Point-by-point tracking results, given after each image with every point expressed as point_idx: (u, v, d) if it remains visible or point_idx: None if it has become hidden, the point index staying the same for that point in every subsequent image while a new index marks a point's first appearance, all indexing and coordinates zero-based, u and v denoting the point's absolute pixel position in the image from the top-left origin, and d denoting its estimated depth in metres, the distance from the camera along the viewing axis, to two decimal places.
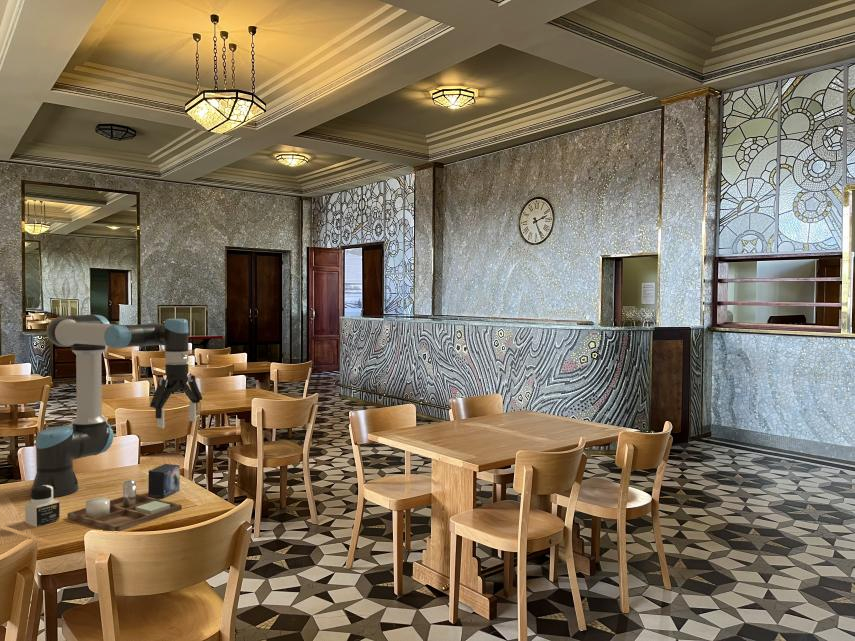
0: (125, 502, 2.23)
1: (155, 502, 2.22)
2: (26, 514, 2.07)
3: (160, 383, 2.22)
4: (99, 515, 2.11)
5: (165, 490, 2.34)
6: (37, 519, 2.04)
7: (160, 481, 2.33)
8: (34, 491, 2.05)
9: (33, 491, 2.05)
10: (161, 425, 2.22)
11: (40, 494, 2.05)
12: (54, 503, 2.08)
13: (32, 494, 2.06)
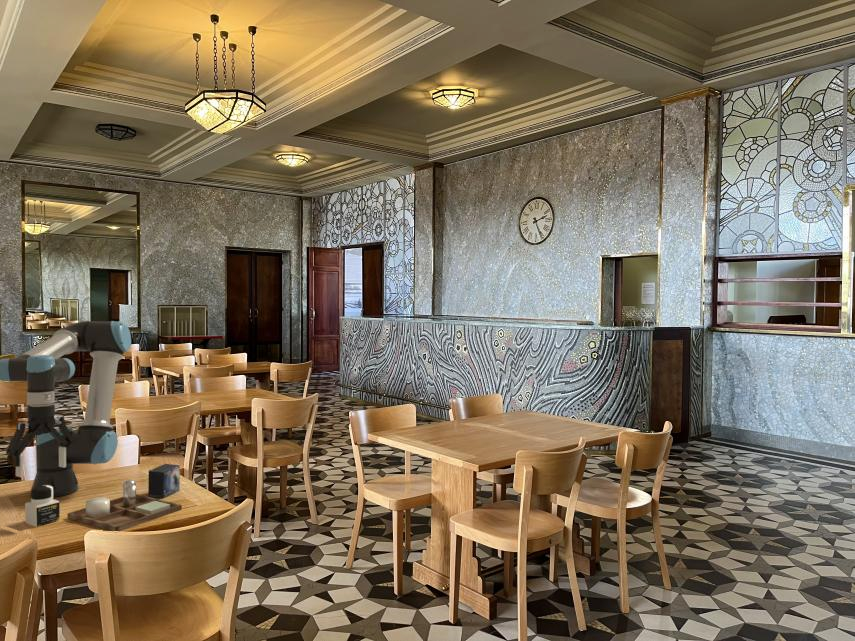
0: (125, 502, 2.23)
1: (155, 502, 2.22)
2: (26, 514, 2.07)
3: (18, 427, 2.01)
4: (99, 515, 2.11)
5: (165, 490, 2.34)
6: (37, 519, 2.04)
7: (160, 481, 2.33)
8: (34, 491, 2.05)
9: (33, 491, 2.05)
10: (19, 474, 2.01)
11: (40, 494, 2.05)
12: (54, 503, 2.08)
13: (32, 494, 2.06)
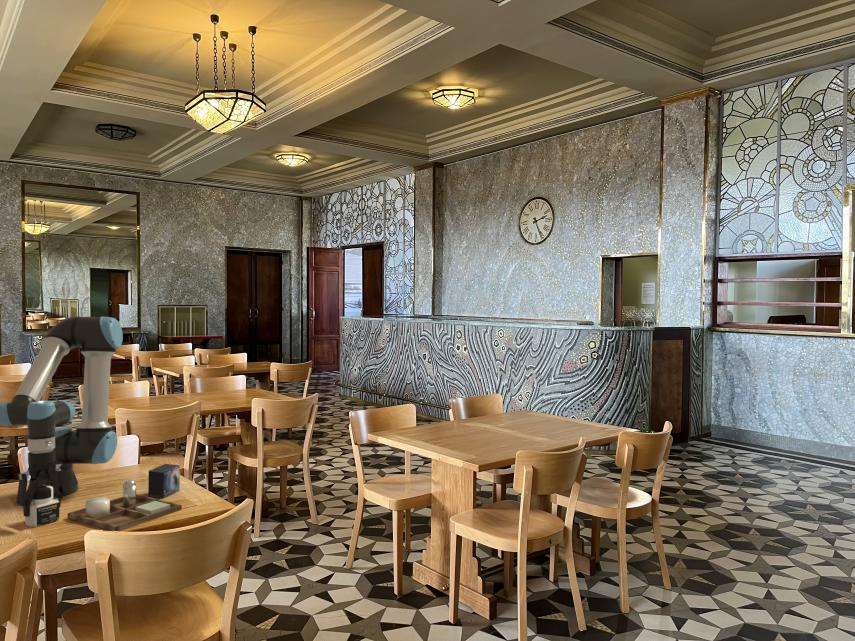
0: (125, 502, 2.23)
1: (155, 502, 2.22)
2: None
3: (20, 478, 2.02)
4: (99, 515, 2.11)
5: (165, 490, 2.34)
6: (37, 519, 2.04)
7: (160, 481, 2.33)
8: None
9: None
10: (30, 524, 2.04)
11: (40, 494, 2.05)
12: (54, 503, 2.08)
13: None
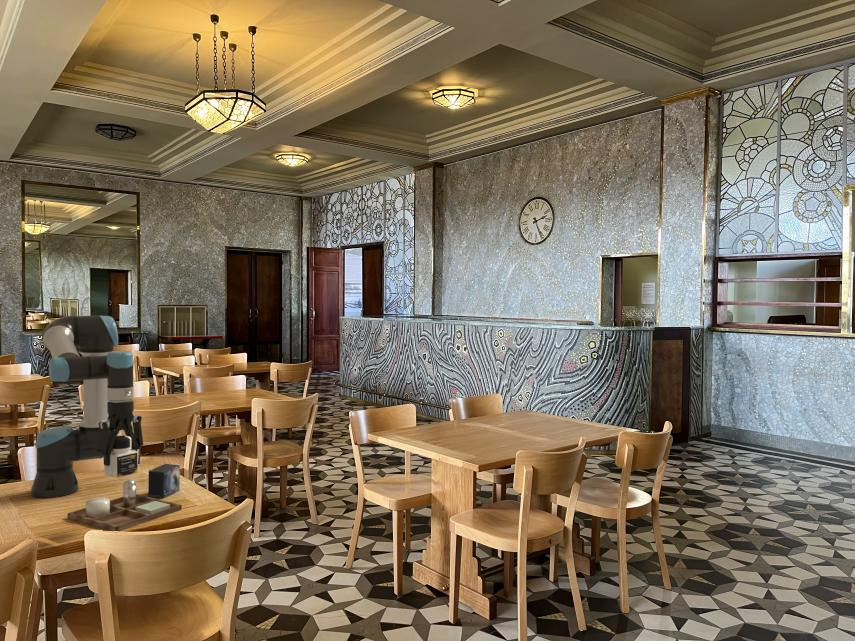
0: (125, 502, 2.23)
1: (155, 502, 2.22)
2: None
3: (101, 427, 2.01)
4: (99, 515, 2.11)
5: (165, 490, 2.34)
6: (117, 468, 2.03)
7: (160, 481, 2.33)
8: None
9: None
10: (110, 473, 2.04)
11: (120, 444, 2.05)
12: (133, 453, 2.07)
13: None
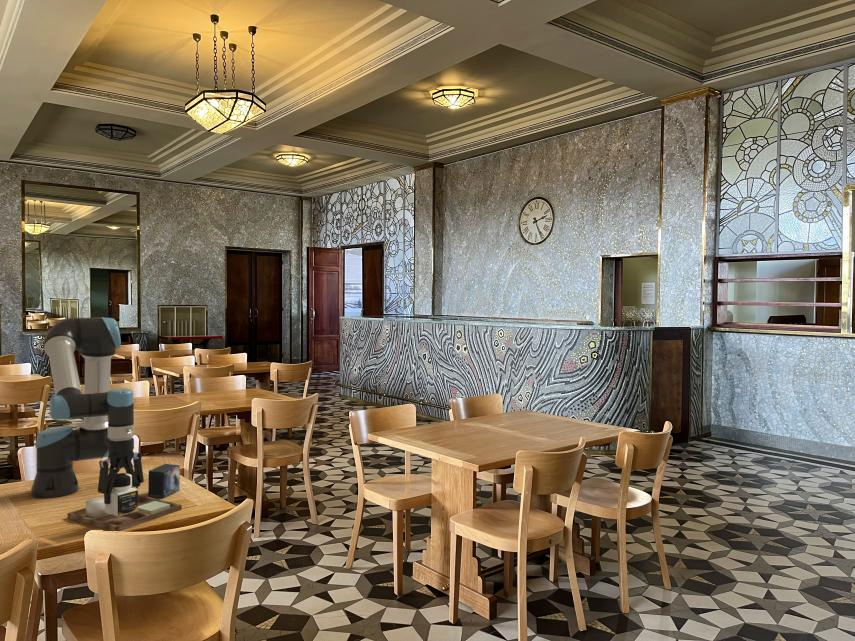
0: None
1: (155, 502, 2.22)
2: None
3: (102, 466, 2.02)
4: (99, 515, 2.11)
5: (165, 490, 2.34)
6: (118, 507, 2.03)
7: (160, 481, 2.33)
8: None
9: None
10: (110, 511, 2.04)
11: (121, 482, 2.05)
12: (133, 491, 2.08)
13: None
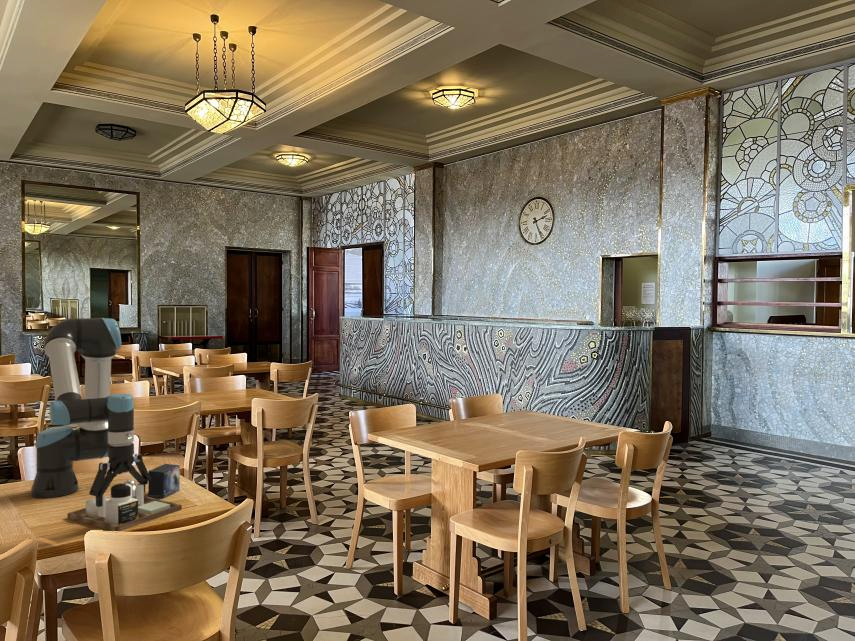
0: None
1: (155, 502, 2.22)
2: (106, 512, 2.07)
3: (101, 468, 2.02)
4: None
5: (165, 490, 2.34)
6: (118, 517, 2.04)
7: (160, 481, 2.33)
8: (114, 489, 2.05)
9: (113, 489, 2.05)
10: (102, 514, 2.02)
11: (121, 493, 2.05)
12: (133, 501, 2.08)
13: (112, 492, 2.06)
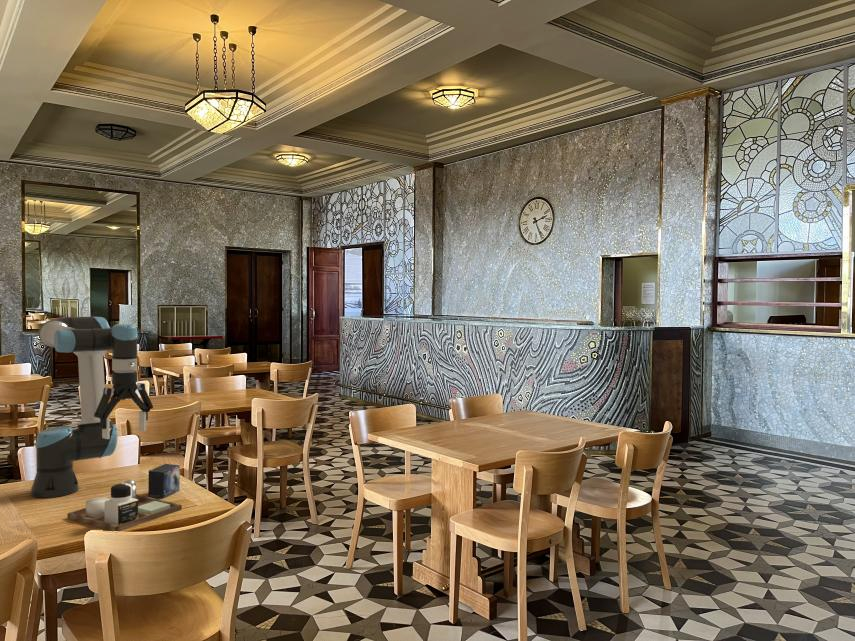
0: None
1: (155, 502, 2.22)
2: (106, 512, 2.07)
3: (105, 392, 2.12)
4: (99, 515, 2.11)
5: (165, 490, 2.34)
6: (118, 517, 2.04)
7: (160, 481, 2.33)
8: (114, 489, 2.05)
9: (113, 489, 2.05)
10: (106, 436, 2.12)
11: (121, 493, 2.05)
12: (133, 501, 2.08)
13: (112, 492, 2.06)
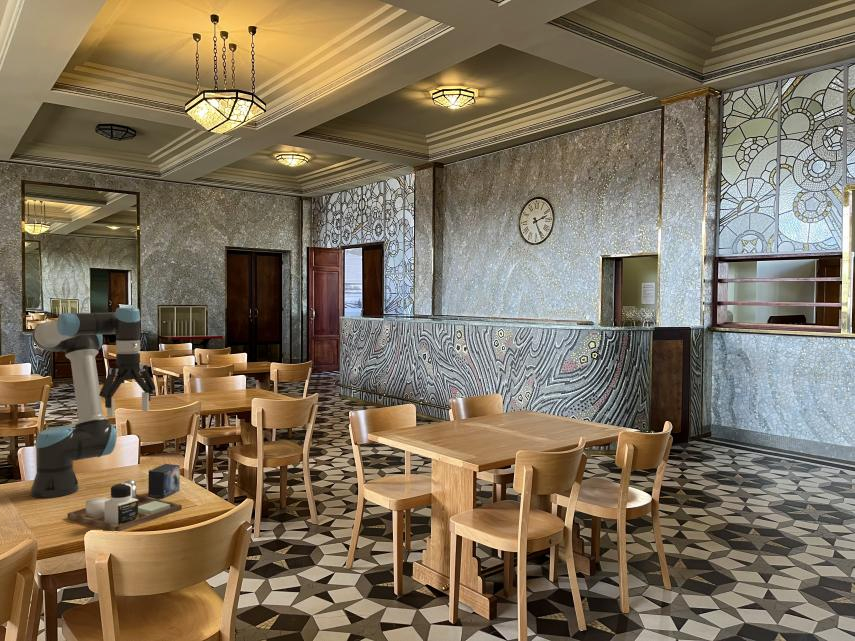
0: None
1: (155, 502, 2.22)
2: (106, 512, 2.07)
3: (110, 372, 2.20)
4: (99, 515, 2.11)
5: (165, 490, 2.34)
6: (118, 517, 2.04)
7: (160, 481, 2.33)
8: (114, 489, 2.05)
9: (113, 489, 2.05)
10: (111, 415, 2.20)
11: (121, 493, 2.05)
12: (133, 501, 2.08)
13: (112, 492, 2.06)
